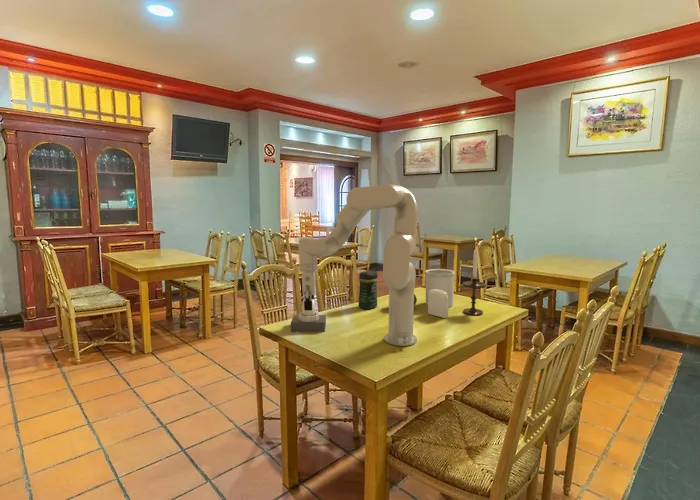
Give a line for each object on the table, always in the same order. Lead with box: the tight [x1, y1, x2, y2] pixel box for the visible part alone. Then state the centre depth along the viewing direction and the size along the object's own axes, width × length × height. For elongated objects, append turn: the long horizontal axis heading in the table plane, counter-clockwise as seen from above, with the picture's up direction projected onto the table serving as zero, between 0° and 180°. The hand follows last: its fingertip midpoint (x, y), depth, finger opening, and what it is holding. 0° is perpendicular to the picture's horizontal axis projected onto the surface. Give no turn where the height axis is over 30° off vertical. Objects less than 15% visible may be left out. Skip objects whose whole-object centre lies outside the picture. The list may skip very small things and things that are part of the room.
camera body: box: [290, 311, 327, 333], centre depth 166 cm, size 10×14×6 cm
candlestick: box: [461, 241, 487, 317], centre depth 186 cm, size 11×11×35 cm
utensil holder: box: [424, 268, 455, 308], centre depth 202 cm, size 15×15×18 cm
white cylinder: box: [302, 298, 316, 316], centre depth 165 cm, size 5×5×8 cm
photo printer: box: [427, 289, 449, 319], centre depth 183 cm, size 10×4×12 cm, turn 39°
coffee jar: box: [358, 269, 379, 310], centre depth 196 cm, size 10×8×19 cm
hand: (309, 306), depth 165 cm, fingers open, 9 cm apart
